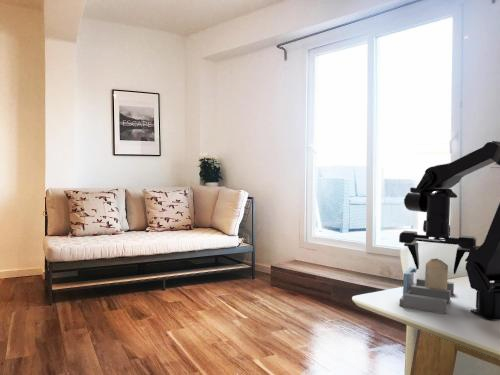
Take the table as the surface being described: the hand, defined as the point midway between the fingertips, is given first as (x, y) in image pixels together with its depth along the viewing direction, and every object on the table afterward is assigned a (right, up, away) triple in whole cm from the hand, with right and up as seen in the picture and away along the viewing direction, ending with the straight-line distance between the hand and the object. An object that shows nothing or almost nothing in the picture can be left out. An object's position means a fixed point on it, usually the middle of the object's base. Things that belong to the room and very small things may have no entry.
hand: (435, 271), depth 116 cm
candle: (0, -7, 0) cm, 7 cm away
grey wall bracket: (-4, -7, -3) cm, 8 cm away
